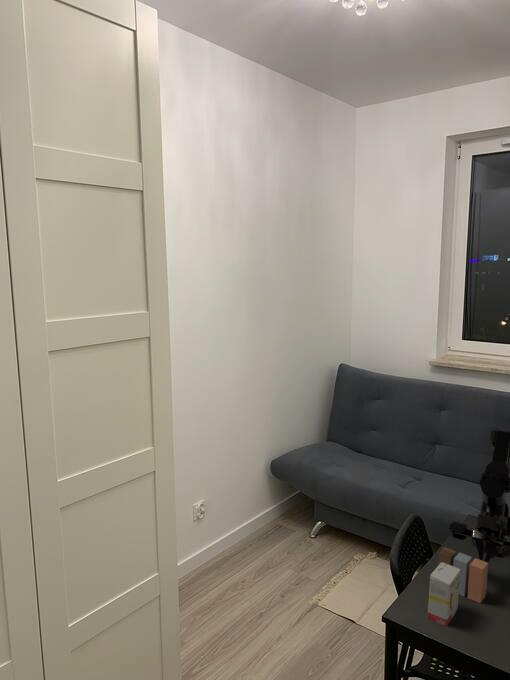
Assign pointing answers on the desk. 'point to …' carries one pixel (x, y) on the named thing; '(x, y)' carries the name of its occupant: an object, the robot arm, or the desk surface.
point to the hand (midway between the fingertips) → (482, 570)
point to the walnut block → (446, 556)
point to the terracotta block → (477, 580)
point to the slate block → (463, 571)
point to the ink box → (443, 593)
